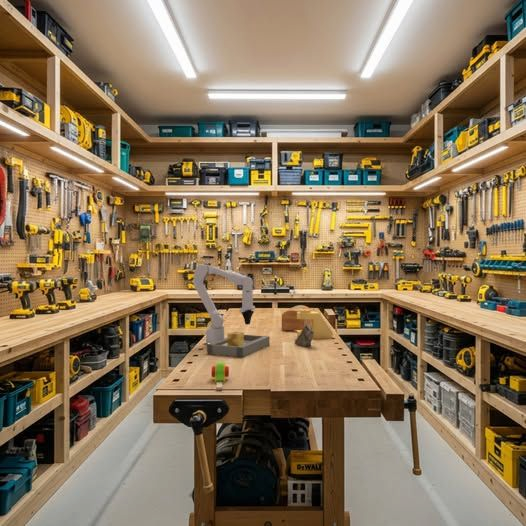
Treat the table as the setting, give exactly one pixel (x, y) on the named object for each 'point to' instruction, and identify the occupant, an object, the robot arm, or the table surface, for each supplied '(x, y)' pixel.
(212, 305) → the robot arm
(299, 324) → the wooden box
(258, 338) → the trap track
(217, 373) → the toy measuring tape
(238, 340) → the block
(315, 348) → the table surface
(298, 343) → the concrete fragment
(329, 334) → the pale yellow sloped piece
